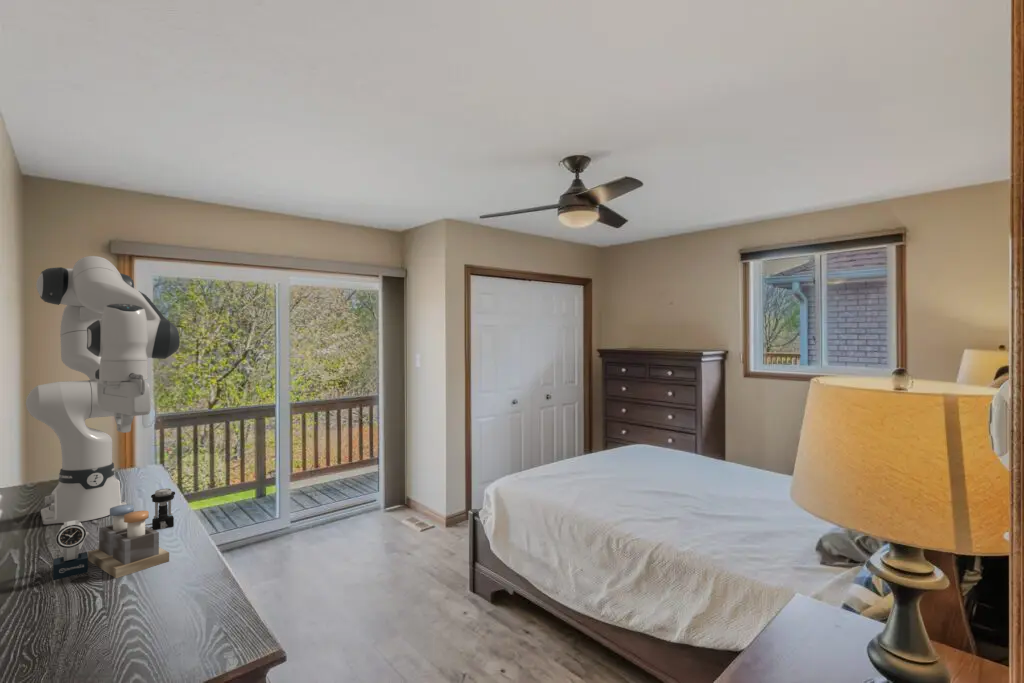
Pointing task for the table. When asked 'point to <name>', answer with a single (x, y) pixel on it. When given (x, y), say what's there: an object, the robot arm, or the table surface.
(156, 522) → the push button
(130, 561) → the mount
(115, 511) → the knob
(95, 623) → the table surface
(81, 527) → the watch
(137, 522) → the knob
